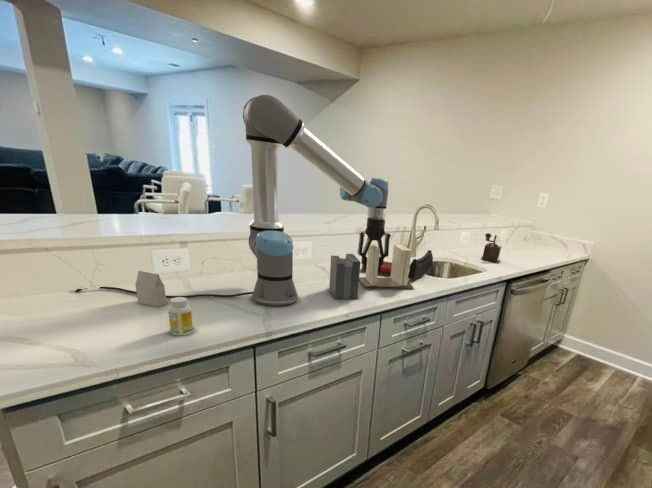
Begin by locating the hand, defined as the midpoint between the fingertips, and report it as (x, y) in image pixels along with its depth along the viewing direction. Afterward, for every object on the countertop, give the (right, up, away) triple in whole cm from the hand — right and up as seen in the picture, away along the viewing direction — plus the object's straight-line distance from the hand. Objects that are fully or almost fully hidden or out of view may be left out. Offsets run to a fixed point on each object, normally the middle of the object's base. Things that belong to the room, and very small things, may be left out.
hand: (371, 271), depth 168 cm
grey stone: (-64, -17, -47) cm, 81 cm away
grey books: (-10, -11, -14) cm, 21 cm away
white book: (-1, -4, +2) cm, 5 cm away
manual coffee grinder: (+68, +20, +85) cm, 111 cm away
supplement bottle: (-46, -26, -61) cm, 81 cm away
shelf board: (+6, -5, +5) cm, 9 cm away
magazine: (+22, +2, +28) cm, 35 cm away
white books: (+11, -4, +7) cm, 14 cm away
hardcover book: (+4, +3, +24) cm, 25 cm away
